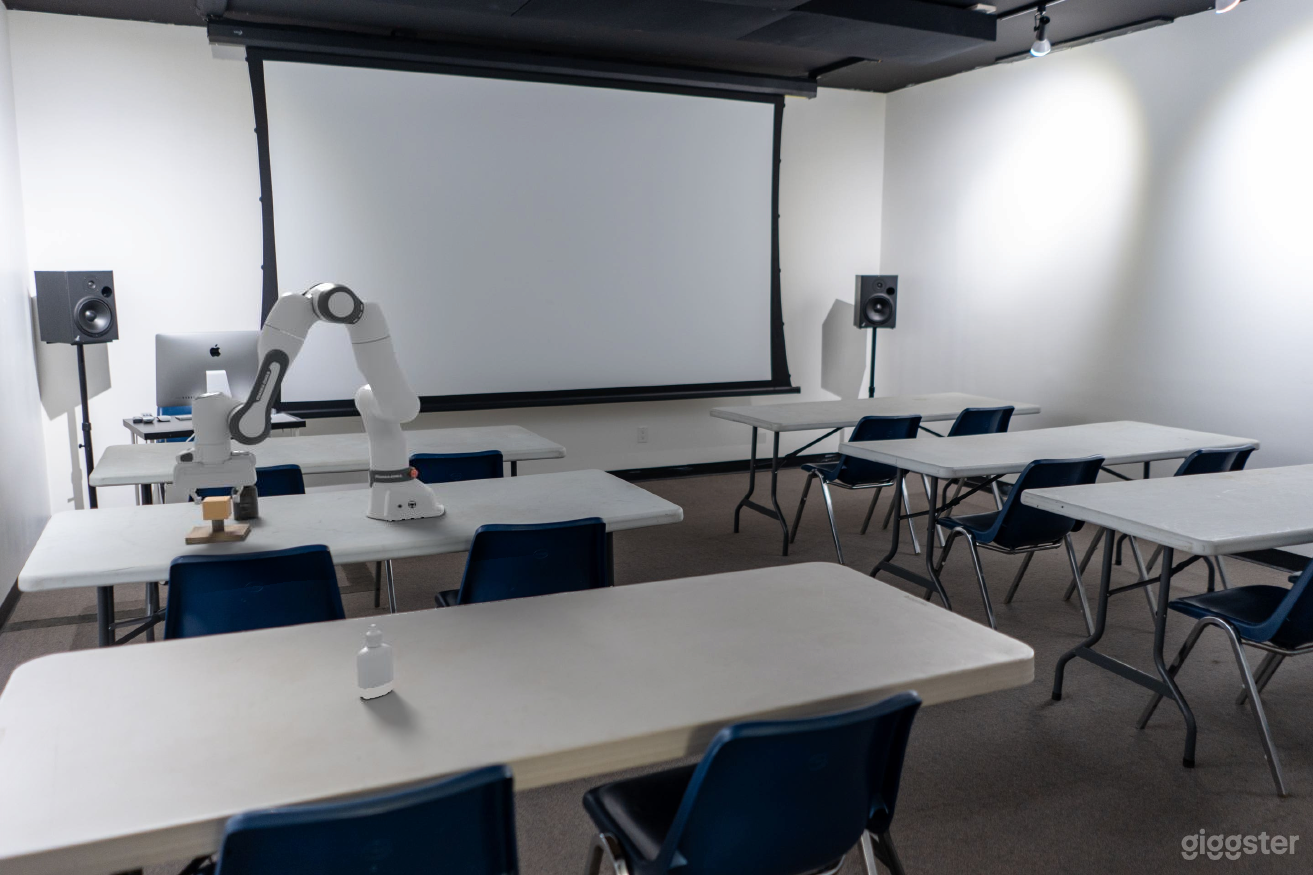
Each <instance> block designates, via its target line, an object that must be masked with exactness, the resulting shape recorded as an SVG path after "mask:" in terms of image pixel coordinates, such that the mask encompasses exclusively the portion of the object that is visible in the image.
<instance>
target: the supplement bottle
mask: <svg viewBox="0 0 1313 875" xmlns="http://www.w3.org/2000/svg"><path fill="white" fill-rule="evenodd" d="M257 488H258V487H256V485H254V484H253V485H249V486H243V490H242V492H241V493H240V495H239V497H240V501H239V502H234V503H233V495H237V493H238V491H239V490H236V486H233V487H232V489H231V504H232V512H233V513H232V514H233V519H235V521H236V520H238V521H247V520H254V519H258V517H259V515H260V511H259V500H258V499H259V498H258V496H259V495H258V489H257Z"/></svg>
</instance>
